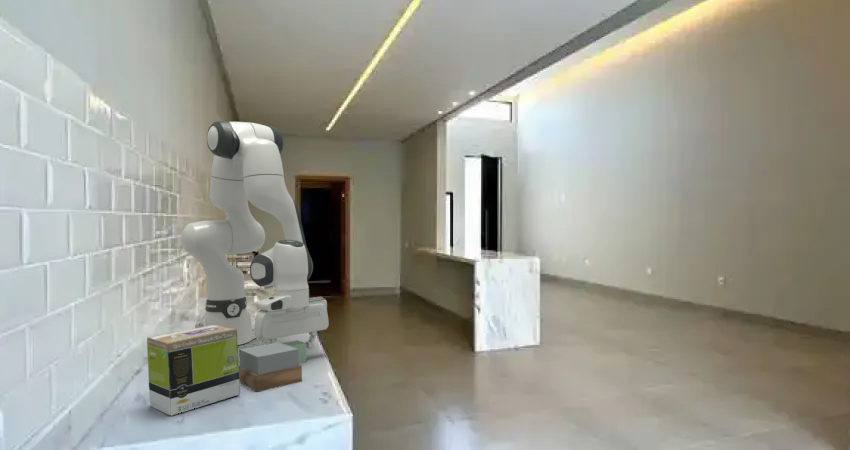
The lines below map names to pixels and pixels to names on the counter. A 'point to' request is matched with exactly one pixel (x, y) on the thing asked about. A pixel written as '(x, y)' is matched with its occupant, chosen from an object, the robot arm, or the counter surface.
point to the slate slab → (268, 358)
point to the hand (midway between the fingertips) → (293, 351)
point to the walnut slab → (270, 378)
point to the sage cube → (299, 349)
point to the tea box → (192, 368)
